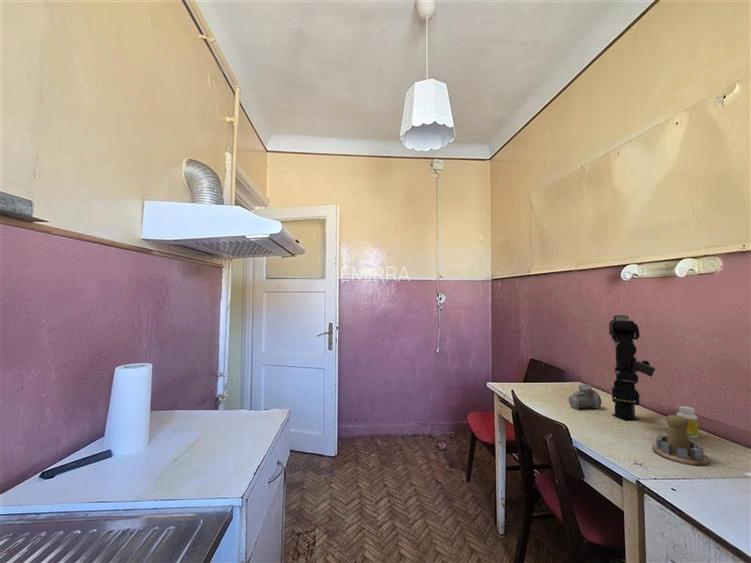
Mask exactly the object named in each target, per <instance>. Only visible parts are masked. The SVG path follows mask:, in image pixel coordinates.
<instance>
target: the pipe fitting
mask: <svg viewBox="0 0 751 563" xmlns="http://www.w3.org/2000/svg"><path fill="white" fill-rule="evenodd" d="M601 398H602V397H601V396H600V394H599V393H598V392H597V391H596V390H595V389H592V385H589V384H579V385H578V390H577V391H574V392H573V394H571V395H569V396H568V398H567V399H568V404H569V405H570V407H571V408H573V410H579V409H582V408H583V409H584V408H588V407H589V408H591V409H598V408H601V406H602V399H601Z"/></svg>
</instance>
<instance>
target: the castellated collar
mask: <svg viewBox="0 0 751 563" xmlns="http://www.w3.org/2000/svg"><path fill="white" fill-rule="evenodd" d="M667 437H668V435H665V434H661V435H660V434H659V435H657V436H655V444H656V447H657V449H659V450H661V452H663V453H665V454H667V455H672V445H671V444H668V443H667ZM689 443H690V448H691V459H693V460H695V461H697V460H702V458H704V455H705V454H704V447H703V445H701V444H698V442H696V441H693V440H691V439H689ZM676 456H677V458H681V459H686V460H688V450H687V448H683V447H678V446H676Z"/></svg>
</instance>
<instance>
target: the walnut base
mask: <svg viewBox="0 0 751 563" xmlns="http://www.w3.org/2000/svg"><path fill="white" fill-rule="evenodd" d="M651 449H652V452H653V453H655V455H657V456H659V457H661V458H663V459H666V460H669V461H670V462H671V461H672V462H675V463H679V464H682V463H683V465H687V464H688V465H689V466H695V467H696V466H697V467H698V466H699V467H701V466H703V467H704V466H707V465H709V463H710V462H709V457H708V456H707V455H706V454H704V458H702V460H697V461H695V460H693V459H691V456H688V460H686V459H681V458H677V456H676V454H673V453H672V455H667V454H665V453H663V452H661V450H659V449H657V447H656V443H653V444H652V446H651Z"/></svg>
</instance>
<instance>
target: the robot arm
mask: <svg viewBox="0 0 751 563" xmlns="http://www.w3.org/2000/svg"><path fill="white" fill-rule="evenodd" d="M608 331H609V333H608V334H609V336H611V339H610V340H612V342H613V343H614V348H615V349H614V350H615V351H614V352H615V365H614V372H615V380H614V381H613V386H611V401H612V403H614V413H612V414H611V416H613V417H616V418H619V419H621V420H623V421H636V420H637V421H638V420H639V417H636V409H635V407H636V406H639V405H641V404H640V396H641V395H640V393H639V392H638V389H636V384H638V382H639V374H637V372H639V373H641V374H644V375H646V376H649V377H651V378H653V375H654V373H655V371H656V368H655V367H654V366H652V365H651V364H650V361H647V360H645V359H644V360H642V361H640V360H639V361H638V360H637V358H636V357H635V355H636V354H637V348H636V345H635V342H634V340H639V338H641V337H640V328H639V326H638V324H637V323H635V320H630V319H629V316H628V315H626V314H625V315H624V314H623V315H619V314H617V315H616V314H615V315H613V318H612V320H610V321H609V322H608Z"/></svg>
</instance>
